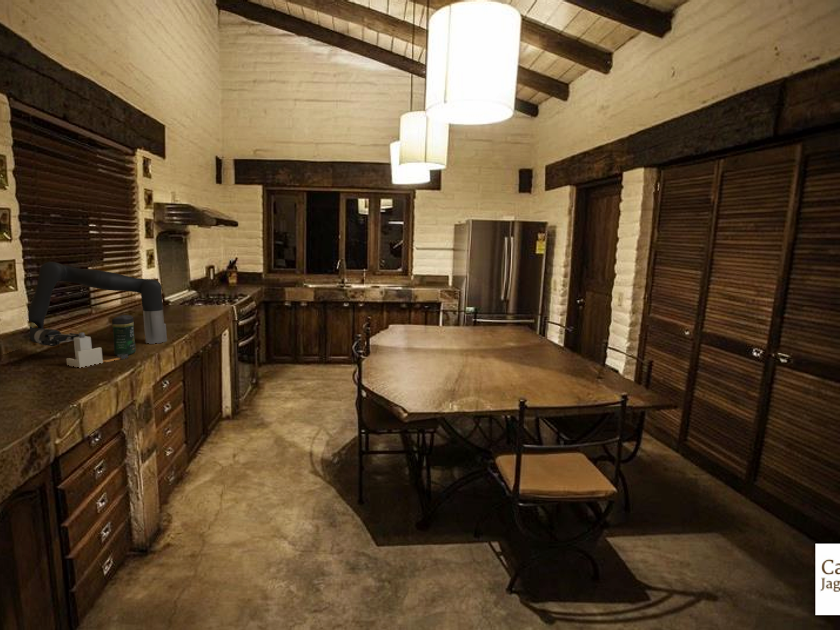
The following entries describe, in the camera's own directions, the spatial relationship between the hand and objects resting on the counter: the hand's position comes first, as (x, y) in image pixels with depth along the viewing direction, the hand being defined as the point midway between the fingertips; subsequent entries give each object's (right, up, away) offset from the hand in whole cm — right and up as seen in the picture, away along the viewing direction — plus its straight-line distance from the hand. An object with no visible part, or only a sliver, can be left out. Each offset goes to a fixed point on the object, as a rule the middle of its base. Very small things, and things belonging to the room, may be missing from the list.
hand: (68, 340), depth 213 cm
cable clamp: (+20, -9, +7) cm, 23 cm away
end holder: (+10, -10, -4) cm, 15 cm away
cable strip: (+16, -9, +2) cm, 18 cm away
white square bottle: (+10, -10, -4) cm, 15 cm away
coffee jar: (+16, -7, +15) cm, 23 cm away
